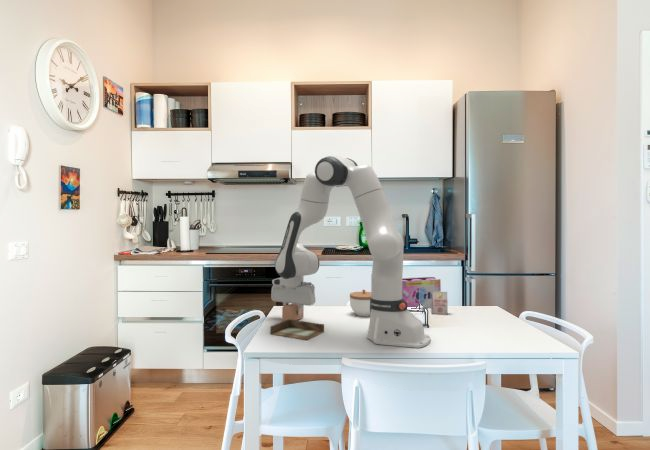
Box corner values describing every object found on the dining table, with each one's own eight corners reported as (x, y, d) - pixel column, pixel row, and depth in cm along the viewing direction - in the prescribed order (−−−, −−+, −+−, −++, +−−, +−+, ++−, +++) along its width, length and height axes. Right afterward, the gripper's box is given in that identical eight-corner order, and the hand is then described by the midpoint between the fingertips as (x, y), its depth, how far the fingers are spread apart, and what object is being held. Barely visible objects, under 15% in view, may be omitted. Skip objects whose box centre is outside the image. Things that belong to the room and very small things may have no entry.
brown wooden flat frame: (324, 332, 155) (324, 324, 155) (307, 340, 144) (307, 332, 144) (288, 326, 162) (288, 319, 162) (270, 334, 152) (270, 326, 152)
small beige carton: (431, 312, 187) (431, 290, 187) (446, 313, 185) (446, 291, 185) (431, 314, 183) (431, 291, 183) (447, 315, 182) (447, 292, 182)
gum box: (435, 303, 206) (435, 276, 205) (443, 307, 198) (443, 279, 198) (391, 306, 199) (391, 278, 199) (398, 310, 192) (398, 281, 191)
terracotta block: (303, 317, 176) (303, 303, 175) (290, 322, 167) (290, 307, 167) (295, 316, 178) (295, 302, 177) (282, 321, 169) (282, 306, 169)
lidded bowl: (349, 311, 189) (349, 287, 189) (376, 311, 189) (376, 287, 188) (349, 317, 177) (350, 292, 176) (379, 318, 176) (379, 292, 176)
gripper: (318, 281, 170) (318, 314, 170) (277, 278, 180) (277, 309, 180) (310, 283, 164) (310, 318, 164) (269, 280, 174) (269, 312, 174)
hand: (293, 313), depth 172 cm, fingers closed on terracotta block, 4 cm apart
